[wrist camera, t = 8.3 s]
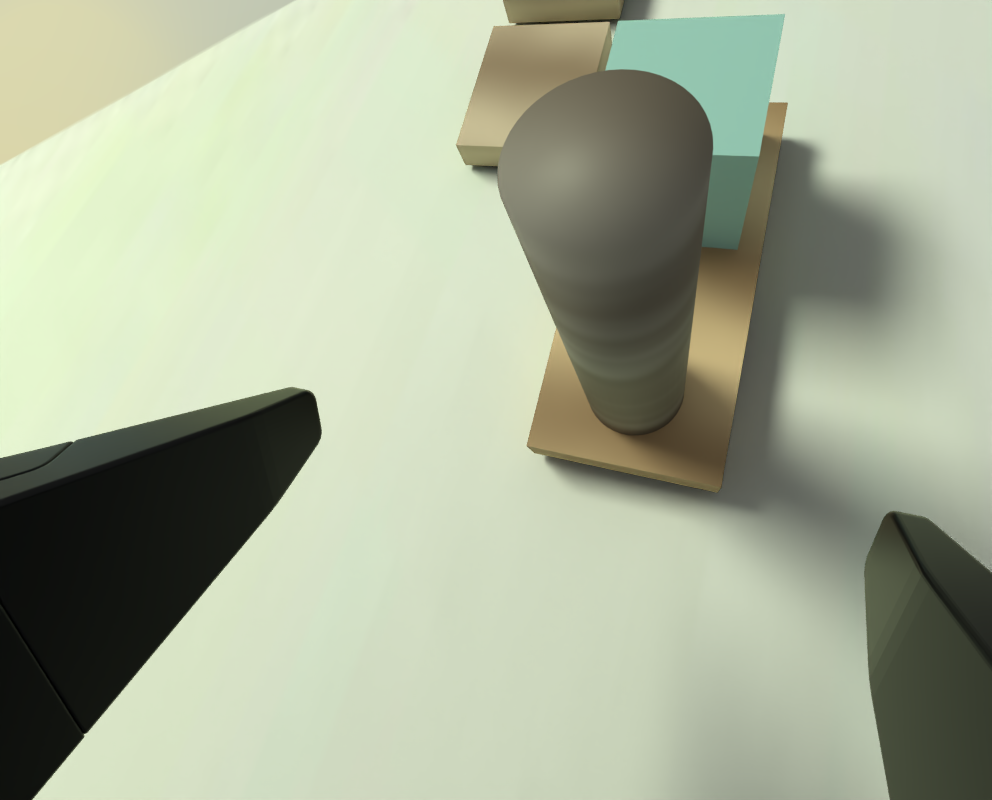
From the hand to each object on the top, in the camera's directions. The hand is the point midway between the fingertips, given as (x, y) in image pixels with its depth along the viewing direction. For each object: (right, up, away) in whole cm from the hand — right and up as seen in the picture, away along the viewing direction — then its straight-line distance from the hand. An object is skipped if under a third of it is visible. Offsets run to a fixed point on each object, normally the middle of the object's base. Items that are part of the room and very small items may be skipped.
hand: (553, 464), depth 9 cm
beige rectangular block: (+2, +17, +16) cm, 23 cm away
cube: (+5, +8, +11) cm, 15 cm away
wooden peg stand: (+5, +5, +11) cm, 13 cm away
